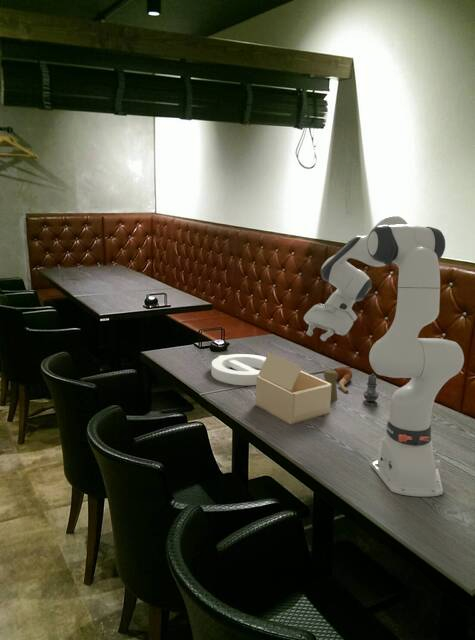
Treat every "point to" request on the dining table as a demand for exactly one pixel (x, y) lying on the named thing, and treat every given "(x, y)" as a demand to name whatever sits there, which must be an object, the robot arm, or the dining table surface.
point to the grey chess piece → (371, 391)
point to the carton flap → (280, 371)
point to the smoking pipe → (343, 377)
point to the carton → (295, 398)
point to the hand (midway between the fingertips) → (315, 337)
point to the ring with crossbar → (237, 368)
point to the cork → (332, 382)
